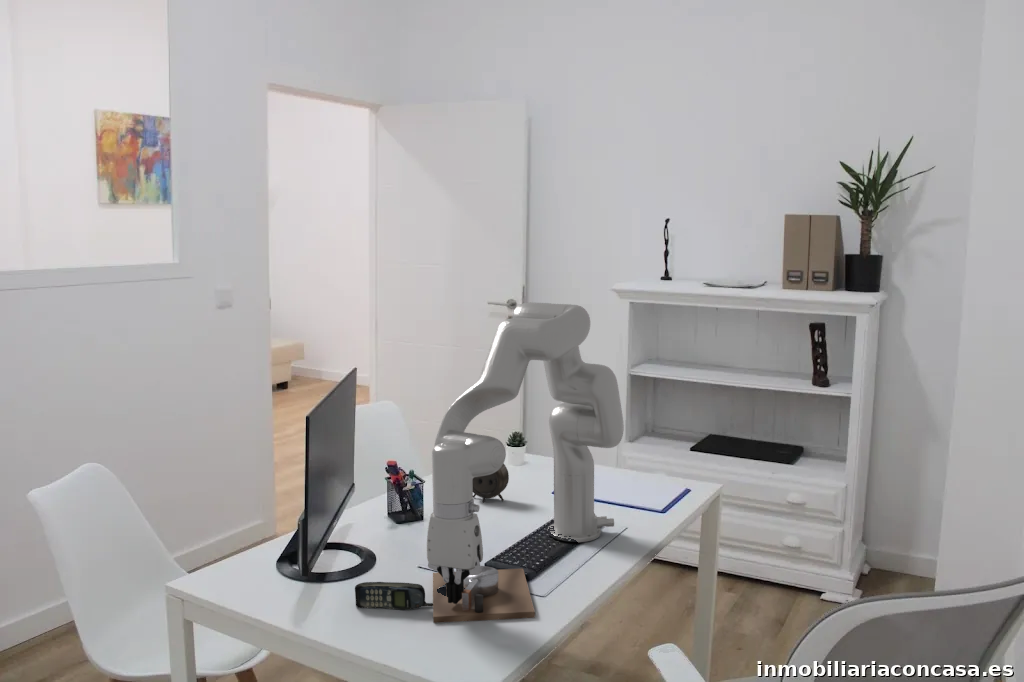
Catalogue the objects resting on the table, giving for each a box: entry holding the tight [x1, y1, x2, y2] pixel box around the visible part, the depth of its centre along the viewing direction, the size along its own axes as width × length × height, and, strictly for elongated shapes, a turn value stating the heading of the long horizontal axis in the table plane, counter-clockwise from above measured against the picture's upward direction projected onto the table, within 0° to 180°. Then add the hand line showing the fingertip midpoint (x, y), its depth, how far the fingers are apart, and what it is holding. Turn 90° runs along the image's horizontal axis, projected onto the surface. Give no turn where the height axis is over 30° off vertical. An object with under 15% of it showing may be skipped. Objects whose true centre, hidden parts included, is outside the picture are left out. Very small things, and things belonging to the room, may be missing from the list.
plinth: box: [432, 568, 536, 624], centre depth 176 cm, size 19×21×4 cm
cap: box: [462, 565, 499, 611], centre depth 173 cm, size 14×7×4 cm, turn 165°
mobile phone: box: [354, 581, 433, 611], centre depth 172 cm, size 5×3×15 cm
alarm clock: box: [472, 462, 510, 504], centre depth 236 cm, size 11×5×16 cm, turn 69°
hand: (455, 600), depth 170 cm, fingers closed
